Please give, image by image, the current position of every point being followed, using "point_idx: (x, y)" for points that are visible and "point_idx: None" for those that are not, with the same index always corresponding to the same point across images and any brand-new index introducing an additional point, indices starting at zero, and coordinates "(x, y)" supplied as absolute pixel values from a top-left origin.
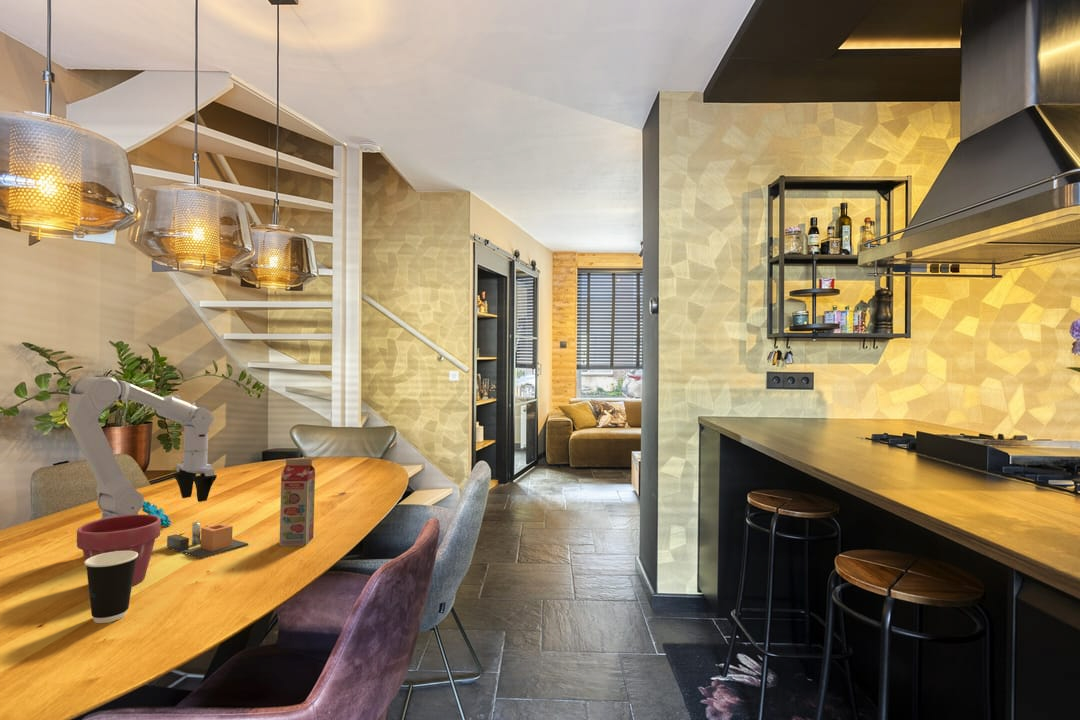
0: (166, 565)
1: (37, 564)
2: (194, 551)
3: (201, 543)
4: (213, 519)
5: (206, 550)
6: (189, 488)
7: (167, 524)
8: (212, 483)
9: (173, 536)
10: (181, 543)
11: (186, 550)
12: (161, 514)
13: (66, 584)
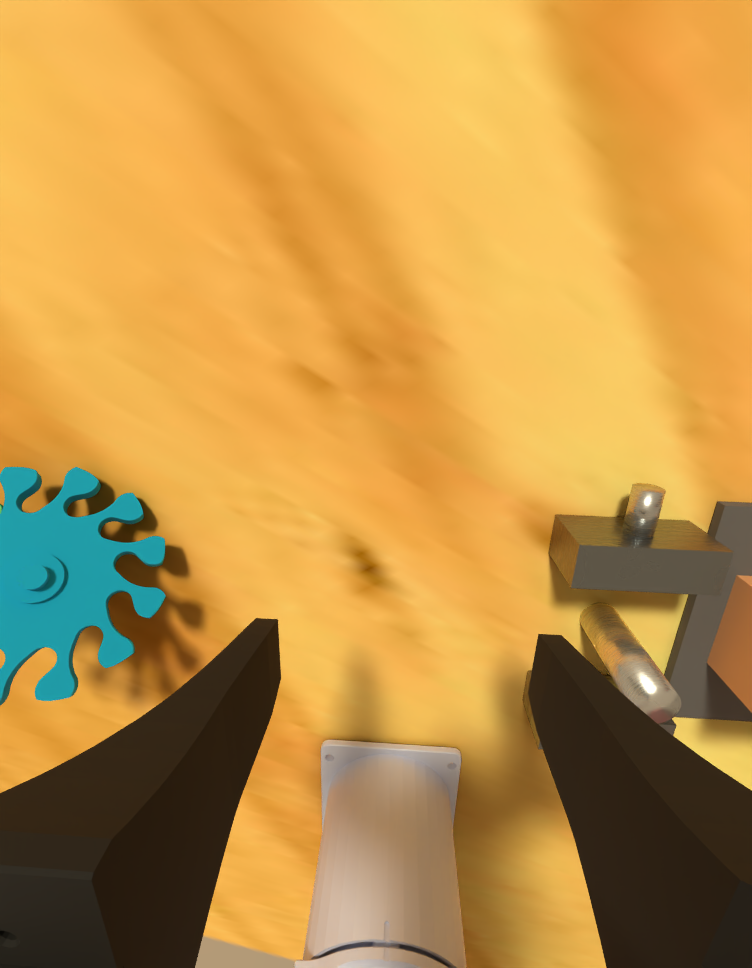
0: None
1: (303, 922)
2: (721, 700)
3: (727, 680)
4: (186, 250)
5: None
6: (247, 700)
7: (142, 518)
8: (739, 788)
9: None
10: None
11: None
12: (36, 538)
13: (575, 961)
